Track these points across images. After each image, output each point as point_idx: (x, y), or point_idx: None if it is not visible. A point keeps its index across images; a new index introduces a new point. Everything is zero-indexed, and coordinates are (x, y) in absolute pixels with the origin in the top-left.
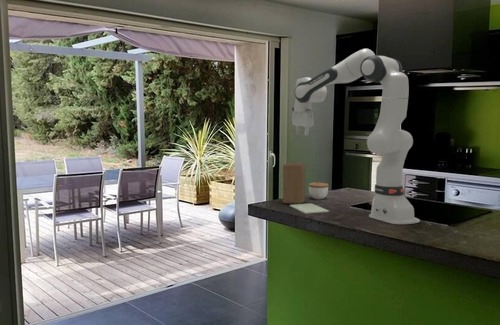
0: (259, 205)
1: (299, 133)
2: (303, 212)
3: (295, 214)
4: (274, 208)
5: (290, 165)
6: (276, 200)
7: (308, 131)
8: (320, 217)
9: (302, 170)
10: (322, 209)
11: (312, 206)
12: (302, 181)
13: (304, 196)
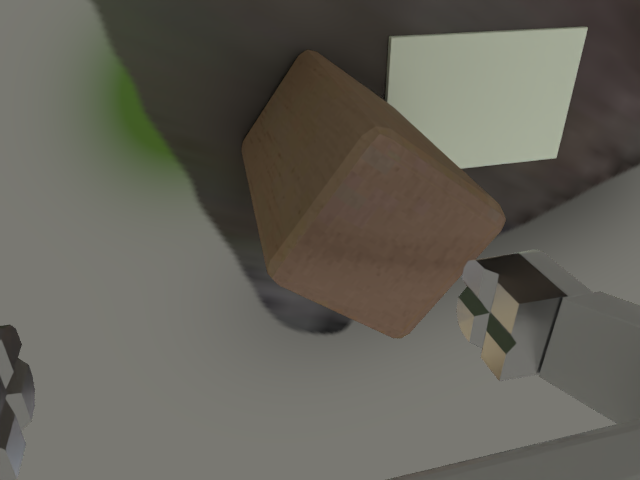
0: (317, 304)
1: (14, 367)
2: (533, 158)
3: (539, 201)
4: None
5: (444, 291)
6: (212, 202)
7: (621, 303)
8: (635, 117)
9: (469, 179)
10: (550, 48)
11: (467, 71)
12: (433, 145)
13: (339, 69)
